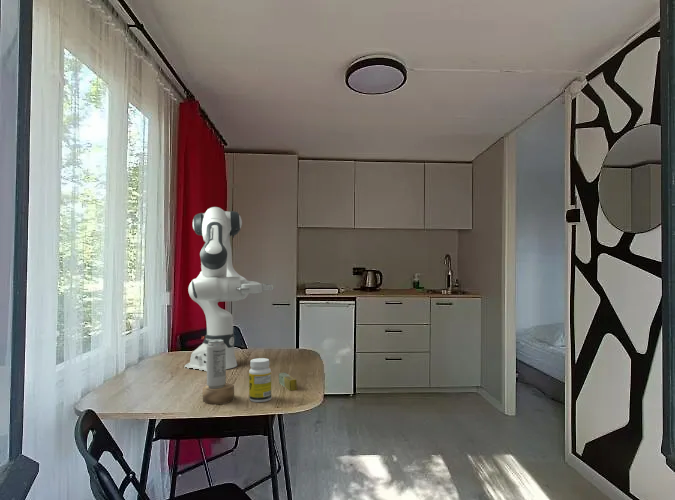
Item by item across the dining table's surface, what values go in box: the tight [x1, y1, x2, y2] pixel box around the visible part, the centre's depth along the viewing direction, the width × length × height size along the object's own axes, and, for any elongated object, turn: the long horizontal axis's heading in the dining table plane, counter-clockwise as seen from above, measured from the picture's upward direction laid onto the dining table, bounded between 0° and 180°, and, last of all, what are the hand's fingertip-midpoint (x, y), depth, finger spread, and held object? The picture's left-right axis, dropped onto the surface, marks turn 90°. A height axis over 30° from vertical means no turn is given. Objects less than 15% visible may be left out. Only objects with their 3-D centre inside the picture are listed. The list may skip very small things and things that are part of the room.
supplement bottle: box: [248, 357, 273, 403], centre depth 154 cm, size 7×7×13 cm
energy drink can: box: [206, 340, 227, 389], centre depth 155 cm, size 6×6×15 cm
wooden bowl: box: [202, 382, 235, 405], centre depth 155 cm, size 10×10×4 cm
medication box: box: [278, 372, 298, 392], centre depth 169 cm, size 12×3×4 cm, turn 26°
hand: (272, 286), depth 185 cm, fingers open, 8 cm apart
